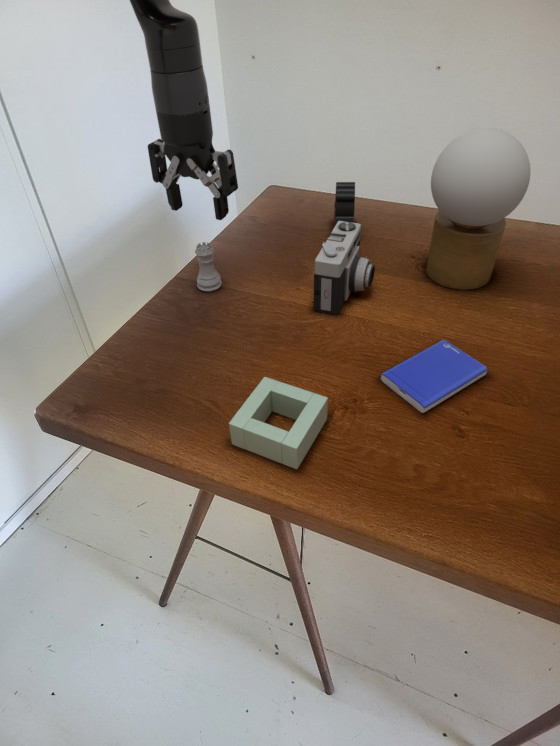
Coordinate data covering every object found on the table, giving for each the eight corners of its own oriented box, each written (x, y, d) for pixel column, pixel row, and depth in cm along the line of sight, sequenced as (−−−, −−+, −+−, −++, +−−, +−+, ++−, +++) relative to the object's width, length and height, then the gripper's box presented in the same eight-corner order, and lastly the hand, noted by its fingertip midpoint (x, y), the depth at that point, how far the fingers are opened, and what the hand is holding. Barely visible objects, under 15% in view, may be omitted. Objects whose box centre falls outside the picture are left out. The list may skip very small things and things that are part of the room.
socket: (231, 444, 66) (228, 423, 63) (266, 397, 72) (264, 376, 69) (297, 470, 62) (296, 448, 60) (327, 418, 68) (328, 397, 66)
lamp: (494, 309, 84) (541, 152, 67) (407, 294, 89) (431, 142, 72) (502, 263, 95) (544, 116, 78) (424, 251, 99) (448, 109, 82)
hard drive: (443, 338, 77) (381, 372, 72) (488, 367, 72) (424, 406, 67) (441, 346, 78) (380, 380, 73) (485, 375, 73) (423, 414, 68)
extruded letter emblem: (352, 260, 97) (356, 203, 90) (334, 260, 98) (336, 203, 90) (350, 216, 110) (353, 163, 103) (334, 216, 111) (336, 164, 103)
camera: (360, 320, 84) (364, 265, 77) (311, 311, 86) (311, 257, 79) (378, 275, 93) (384, 223, 86) (334, 268, 96) (336, 217, 89)
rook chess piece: (200, 278, 95) (193, 239, 89) (224, 279, 94) (219, 239, 89) (194, 292, 91) (187, 252, 86) (219, 293, 91) (214, 252, 85)
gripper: (125, 106, 72) (149, 215, 83) (210, 117, 67) (224, 231, 78) (157, 92, 77) (176, 196, 88) (239, 101, 72) (249, 211, 83)
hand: (199, 213), depth 83 cm, fingers open, 8 cm apart
